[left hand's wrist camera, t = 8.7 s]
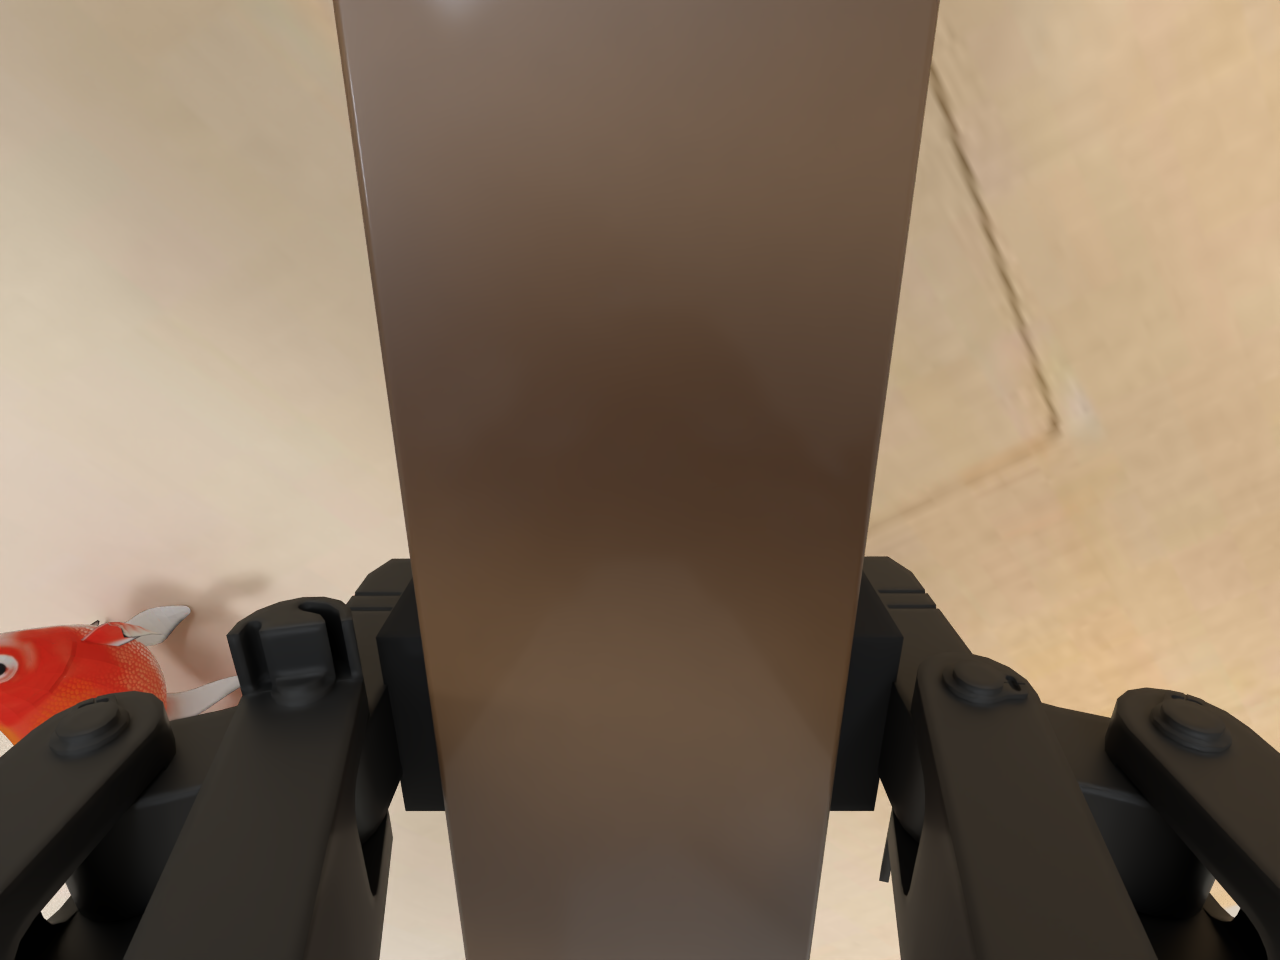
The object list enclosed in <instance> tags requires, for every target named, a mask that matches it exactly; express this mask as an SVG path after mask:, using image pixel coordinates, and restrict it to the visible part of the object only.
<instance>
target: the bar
mask: <svg viewBox="0 0 1280 960" xmlns="http://www.w3.org/2000/svg"><path fill="white" fill-rule="evenodd" d="M939 2H940V0H333V6H334V13H335V21H336V28H337V35H338V42H339V49H340V57H341V64H342V71H343V78H344V85H345V93H346V100H347V107H348V114H349V121H350V129H351V136H352V143H353V150H354V157H355V165H356V172H357V179H358V186H359V193H360V201H361V208H362V215H363V222H364V229H365V237H366V244H367V251H368V258H369V265H370V273H371V280H372V287H373V294H374V301H375V309H376V316H377V323H378V330H379V337H380V345H381V352H382V359H383V366H384V373H385V381H386V388H387V395H388V402H389V409H390V417H391V424H392V431H393V438H394V445H395V453H396V460H397V467H398V474H399V481H400V489H401V496H402V503H403V510H404V517H405V525H406V532H407V539H408V546H409V553H410V561H411V568H412V575H413V582H414V589H415V597H416V604H417V611H418V618H419V625H420V633H421V640H422V647H423V654H424V661H425V669H426V676H427V683H428V690H429V697H430V705H431V712H432V719H433V726H434V733H435V741H436V748H437V755H438V762H439V769H440V777H441V784H442V791H443V798H444V805H445V813H446V820H447V827H448V834H449V841H450V849H451V856H452V863H453V870H454V877H455V885H456V892H457V899H458V906H459V913H460V921H461V928H462V935H463V942H464V950H465V957H466V960H809V959H810V952H811V945H812V937H813V930H814V923H815V915H816V908H817V901H818V893H819V886H820V878H821V871H822V864H823V856H824V849H825V842H826V834H827V827H828V820H829V812H830V805H831V797H832V790H833V783H834V775H835V768H836V761H837V753H838V746H839V739H840V731H841V724H842V716H843V709H844V702H845V694H846V687H847V680H848V672H849V665H850V658H851V650H852V643H853V635H854V628H855V621H856V613H857V606H858V599H859V591H860V584H861V577H862V569H863V562H864V555H865V547H866V540H867V532H868V525H869V518H870V510H871V503H872V496H873V488H874V481H875V474H876V466H877V459H878V451H879V444H880V437H881V429H882V422H883V415H884V407H885V400H886V393H887V385H888V378H889V370H890V363H891V356H892V348H893V341H894V334H895V326H896V319H897V312H898V304H899V297H900V289H901V282H902V275H903V267H904V260H905V253H906V245H907V238H908V231H909V223H910V216H911V208H912V201H913V194H914V186H915V179H916V172H917V164H918V157H919V150H920V142H921V135H922V127H923V120H924V113H925V105H926V98H927V91H928V83H929V76H930V69H931V61H932V54H933V46H934V39H935V32H936V24H937V17H938V10H939Z"/></svg>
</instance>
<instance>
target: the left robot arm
mask: <svg viewBox="0 0 1280 960" xmlns="http://www.w3.org/2000/svg"><path fill="white" fill-rule="evenodd" d="M226 636H227V639H228V643H229V647H230V650H231V654H232V658H233V662H234V665H235V669H236V673H237V676H238V680H239V684H240V687H241V691H242V697H241V700H240V702H239V704H238V706H235V707H231V708H228V709H224V710H220V711H215V712H210V713H205V714H201V715H196V716H191V717H186V718H181V719H177V720H172V721H169V719H168V716H167V713H166V710H165V706H164V703H163V701H161V700H160V699H159V698H158V697H156V696H155V695H154V694H152V693H146V692H139V691H127V692H119V693H110V694H106V695H101V696H97V697H96V698H90V699H87V700H84V701H82V702H79V703H77V704H76V705H74V706H72V707H70V708H68V709H66V710H63V711H61V712H59V713H57V714H55V715H53V716H52V717H51V718H49V719H48V720H46V721H45V722H43V723H42V724H40V725H39V726H38V727H36V728H35V729H33V730H32V731H31V732H29V733H28V734H27V735H26V736H25V737H24V738H22V739H21V740H20V741H19V742H18V743H17V744H15V745H14V746H13V747H12V748H11V749H10V750H8V751H7V752H6V753H5V754H4V755H3V756H1V757H0V960H379V957H380V948H381V939H382V930H383V921H384V912H385V904H386V895H387V886H388V877H389V868H390V859H391V850H392V841H393V836H392V829H391V822H390V817H389V811H388V808H389V806H390V803H391V801H392V798H393V796H394V794H395V791H396V789H397V786H398V784H399V782H400V781H401V787H402V793H403V798H404V804H405V810H406V811H445V805H444V798H443V791H442V784H441V777H440V769H439V762H438V755H437V748H436V741H435V733H434V726H433V719H432V712H431V705H430V697H429V690H428V683H427V676H426V669H425V661H424V654H423V647H422V640H421V633H420V625H419V618H418V611H417V604H416V597H415V589H414V582H413V575H412V568H411V561H410V559H391V560H390V561H388V562H386V563H385V564H383V565H382V566H380V567H379V568H377V569H376V570H374V571H373V572H371V573H370V574H368V575H367V577H366V578H365V580H364V581H363V582H362V584H361V585H360V586H359V588H358V589H357V590H356V592H355V596H352V597H351V599H350V600H349V601H348V603H347V604H344V603H343V602H342V601H340V600H336V599H331V598H327V597H302V598H297V599H292V600H287V601H282V602H278V603H276V604H273V605H270V606H268V607H265V608H262V609H260V610H257V611H255V612H254V613H252V614H251V615H249V616H247V617H246V618H244V619H243V620H241V621H239V622H238V623H237V624H236V625H235V626H234V627H233V629H232V630H231V631H230V632H229V633H228V634H227V635H226ZM879 779H881V782H882V784H883V786H884V789H885V791H886V793H887V796H888V798H889V801H890V803H891V805H892V811H891V817H890V822H889V828H888V833H887V838H886V844H885V849H884V854H883V860H882V865H881V872H880V879H879V881H883V882H889V877H890V871H891V875H892V884H893V893H894V902H895V911H896V920H897V929H898V937H899V946H900V955H901V960H1280V753H1279V752H1278V751H1276V750H1275V749H1274V748H1273V747H1272V746H1271V745H1269V744H1268V743H1267V742H1266V741H1265V740H1263V739H1262V738H1261V737H1260V736H1259V735H1258V734H1256V733H1255V732H1254V731H1253V730H1252V729H1251V728H1249V727H1248V726H1246V725H1245V724H1244V723H1242V722H1241V721H1239V720H1238V719H1236V718H1235V717H1233V716H1232V715H1230V714H1229V713H1228V712H1226V711H1224V710H1222V709H1220V708H1218V707H1215V706H1213V705H1211V704H1209V703H1207V702H1205V701H1204V700H1202V699H1200V698H1197V697H1194V696H1191V695H1188V694H1187V695H1185V694H1184V693H1180V692H1176V691H1171V690H1163V689H1154V688H1140V689H1134V690H1128V691H1126V692H1125V693H1124V694H1123V695H1121V696H1120V697H1119V698H1118V699H1117V702H1116V705H1115V708H1114V711H1113V714H1112V717H1111V718H1108V717H1103V716H1099V715H1094V714H1089V713H1084V712H1079V711H1074V710H1070V709H1065V708H1060V707H1056V706H1052V705H1048V704H1045V703H1041V701H1040V698H1039V696H1038V694H1037V693H1036V691H1035V690H1034V689H1033V687H1032V686H1031V685H1030V684H1029V682H1028V681H1027V680H1026V679H1025V678H1023V677H1022V676H1021V675H1019V674H1018V673H1016V672H1015V671H1014V670H1012V669H1011V668H1010V667H1007V666H1005V665H1003V664H1001V663H998V662H996V661H994V660H992V659H989V658H986V657H982V656H978V655H974V654H972V653H971V651H970V650H969V649H968V647H967V646H966V645H965V643H964V642H963V641H962V639H961V638H960V637H959V635H958V634H957V632H956V631H955V630H954V628H953V627H952V626H951V624H950V623H949V622H948V620H947V619H946V618H945V616H944V615H943V614H942V612H941V611H940V610H939V609H936V604H935V603H934V602H933V600H932V599H931V597H930V596H929V595H928V593H925V589H924V588H923V587H922V585H921V584H920V583H919V581H918V580H917V579H916V577H915V576H914V575H913V573H912V572H911V571H909V570H908V569H906V568H905V567H903V566H902V565H900V564H898V563H897V562H895V561H894V560H892V559H891V558H889V557H864V562H863V569H862V577H861V584H860V591H859V599H858V606H857V613H856V621H855V628H854V635H853V643H852V650H851V658H850V665H849V672H848V680H847V687H846V694H845V702H844V709H843V716H842V724H841V731H840V739H839V746H838V753H837V761H836V768H835V775H834V783H833V790H832V797H831V805H830V811H874V807H875V802H876V796H877V790H878V784H879ZM1215 879H1216V880H1217V881H1218V882H1219V883H1220V885H1221V886H1222V887H1223V888H1224V889H1225V890H1226V892H1227V893H1228V894H1229V895H1230V896H1231V897H1232V899H1233V900H1234V901H1235V902H1236V903H1237V904H1238V906H1239V907H1240V910H1239V912H1238V914H1237V916H1236V917H1235V918H1234V917H1232V916H1231V915H1230V914H1228V913H1227V912H1226V911H1225V910H1224V909H1223V908H1222V907H1221V906H1220V905H1219V903H1218V902H1217V901H1216V900H1215V899H1214V897H1213V896H1212V895H1211V894H1210V893H1209V892H1210V890H1211V888H1212V886H1213V883H1214V881H1215ZM64 883H66V885H67V887H68V889H69V892H70V894H71V896H70V897H69V899H68V900H67V901H66V902H65V903H64V905H63V906H62V907H61V908H60V909H59V910H58V911H57V912H56V913H55V914H54V915H52V916H51V917H50V918H49V919H48V920H46V919H44V918H43V916H42V914H41V910H42V909H43V908H44V907H45V906H46V904H47V903H48V902H49V901H50V900H51V899H52V897H53V896H54V895H55V894H56V893H57V892H58V890H59V889H60V888H61V887H62V886H63V885H64Z"/></svg>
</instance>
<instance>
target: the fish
mask: <svg viewBox="0 0 1280 960" xmlns="http://www.w3.org/2000/svg"><path fill="white" fill-rule="evenodd" d="M190 611H191V610H190V608H189V607H187V606H181V605H177V606H164V607H156V608H151V609H148V610H146V611H143V612H141V613H139V614H138V615H136V616H135V617H133V618H132V619H130V620H129V621H127V622H126V623H120V622H108V623H105V624H102V625H100V626H98V625H99V621H98V620H97V621H95V622H94V623H92V624H91V625H61V626H50V627H41V628H33V629H26V630H19V631H13V632H6V633H1V634H0V731H1V732H2V733H3V734H4V735H5V736H6V737H7V738H8V739H9V740H10V741H11V742H12V744H13V745H15V744H17V743H18V742H19V741H20V740H21V739H22V738H24V737H25V736H26V735H27V734H28V733H29V732H31V731H32V730H33V729H35V728H36V727H38V726H39V725H40V724H42V723H43V722H45V721H46V720H48V719H49V718H51V717H52V716H53V715H55V714H57V713H59V712H61V711H63V710H66V709H68V708H70V707H72V706H74V705H76V704H77V703H79V702H82V701H84V700H87V699H90V698H96V697H97V696H101V695H106V694H110V693H119V692H127V691H139V692H146V693H152V694H154V695H155V696H156V697H158V698H159V699H160V700H161V701H163V703H164V706H165V710H166V713H167V716H168V719H169V721H172V720H177V719H181V718H186V717H191V716H196V715H198V714H200V713H201V712H203V711H205V710H206V709H208V708H209V707H211V706H212V705H214V704H215V703H216V702H218V701H219V700H221V699H222V698H224V697H225V696H227V695H228V694H230V693H231V692H233V691H235V690H236V689H238V688H239V687H240V684H239V680H238V676H233V677H229V678H225V679H221V680H218V681H215V682H212V683H209V684H206V685H204V686H201V687H198V688H196V689H192V690H189V691H186V692H180V693H166V684H165V680H164V676H163V673H162V671H161V668H160V666H159V664H158V662H157V661H156V659H155V657H154V656H153V654H152V653H151V652H150V651H149V649H148V648H147V647H146V646H151V645H156V644H159V643H161V642H163V641H164V640H165V639H166V638H167V637H168V636H169V635H170V634H171V632H172V631H173V630H174V629H175V627H176V626H177V625H178V624H179V623H180V622H181V621H182V620H183V619H185V618H186V617H187V616H188V615H189V614H190Z"/></svg>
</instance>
